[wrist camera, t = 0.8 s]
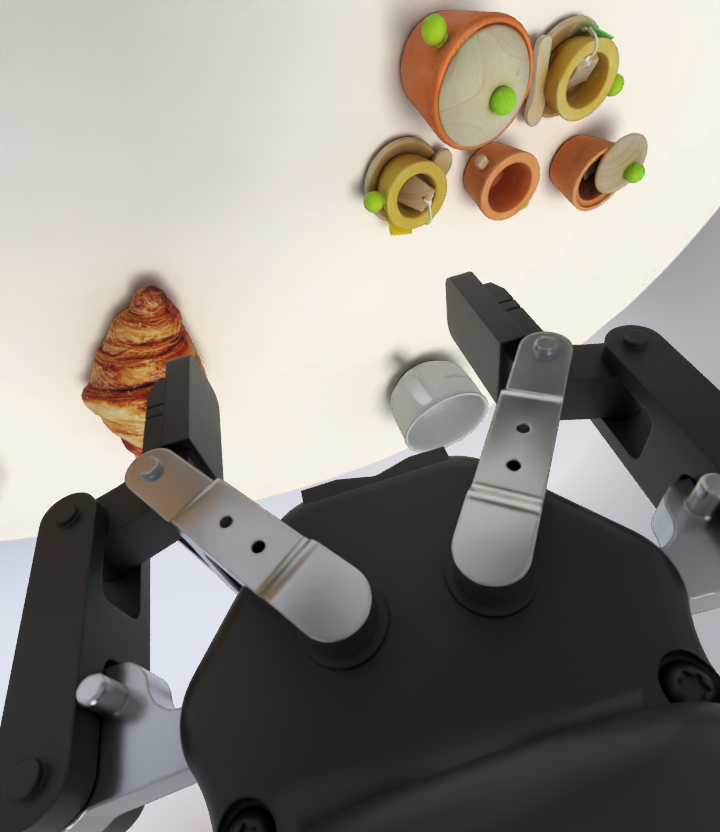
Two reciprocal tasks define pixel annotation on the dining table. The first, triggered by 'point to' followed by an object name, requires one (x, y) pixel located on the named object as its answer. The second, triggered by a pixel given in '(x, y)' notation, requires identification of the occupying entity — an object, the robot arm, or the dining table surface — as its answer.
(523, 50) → the toy tea set
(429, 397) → the teacup
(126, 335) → the croissant
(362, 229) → the dining table surface
